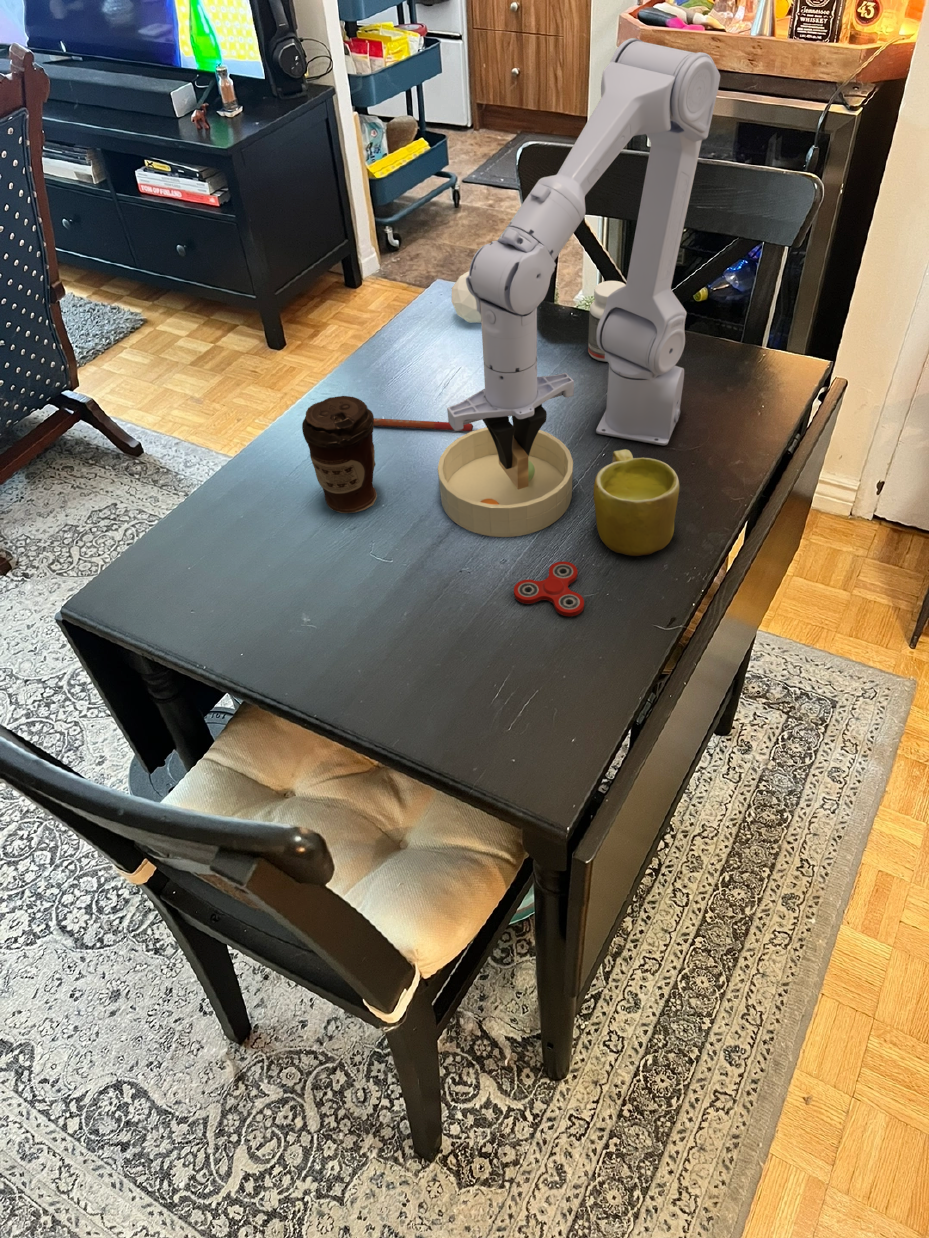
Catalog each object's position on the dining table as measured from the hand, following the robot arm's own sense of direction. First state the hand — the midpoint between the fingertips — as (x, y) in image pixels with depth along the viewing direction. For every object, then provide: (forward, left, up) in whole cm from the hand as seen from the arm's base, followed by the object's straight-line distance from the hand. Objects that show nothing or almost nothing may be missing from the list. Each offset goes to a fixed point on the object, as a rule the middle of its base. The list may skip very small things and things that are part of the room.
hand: (513, 461), depth 107 cm
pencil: (+20, -10, -6) cm, 23 cm away
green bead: (0, -4, -4) cm, 6 cm away
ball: (+21, -40, -7) cm, 46 cm away
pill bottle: (-1, -36, -7) cm, 37 cm away
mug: (-14, 0, -7) cm, 16 cm away
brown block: (0, 0, -2) cm, 2 cm away
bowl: (+2, -1, -6) cm, 7 cm away
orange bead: (+2, +5, -4) cm, 6 cm away
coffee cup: (+20, +6, -7) cm, 21 cm away
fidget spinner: (-9, +13, -7) cm, 17 cm away
